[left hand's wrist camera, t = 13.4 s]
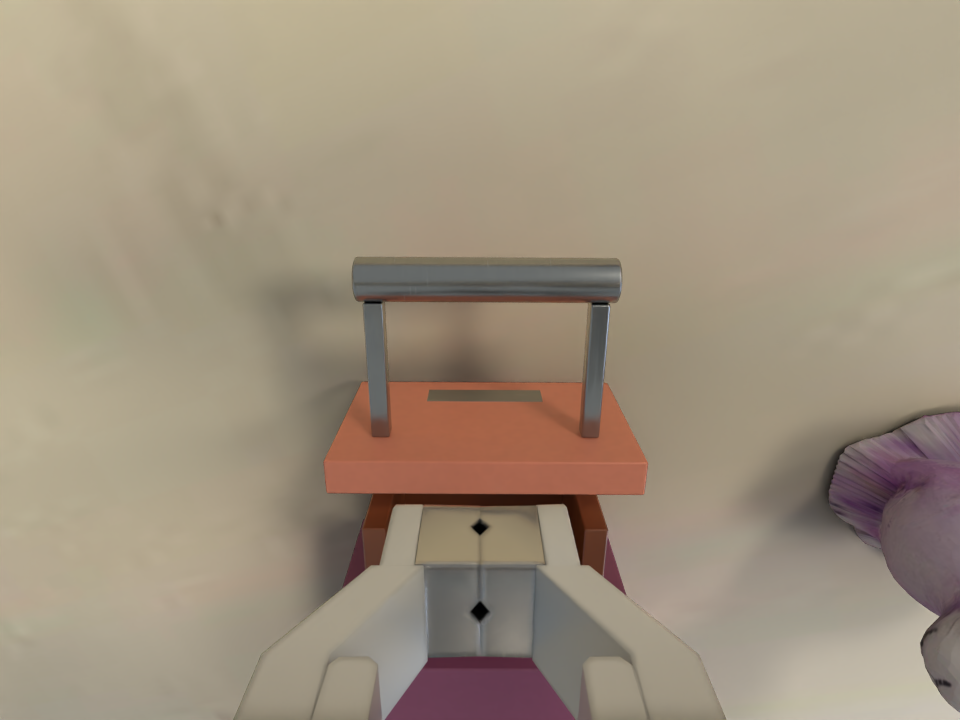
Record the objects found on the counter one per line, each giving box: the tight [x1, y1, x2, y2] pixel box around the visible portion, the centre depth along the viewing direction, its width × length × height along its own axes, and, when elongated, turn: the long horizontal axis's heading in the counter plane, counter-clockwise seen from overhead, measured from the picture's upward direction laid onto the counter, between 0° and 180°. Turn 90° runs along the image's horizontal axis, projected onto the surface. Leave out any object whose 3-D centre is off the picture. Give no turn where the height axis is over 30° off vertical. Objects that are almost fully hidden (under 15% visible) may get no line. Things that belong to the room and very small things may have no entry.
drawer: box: [323, 257, 648, 577], centre depth 24 cm, size 25×10×6 cm, turn 0°
